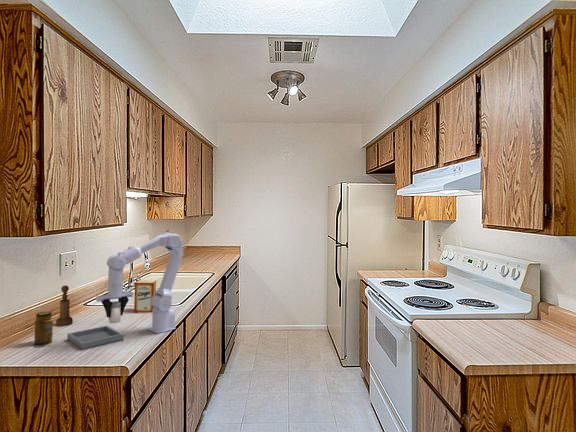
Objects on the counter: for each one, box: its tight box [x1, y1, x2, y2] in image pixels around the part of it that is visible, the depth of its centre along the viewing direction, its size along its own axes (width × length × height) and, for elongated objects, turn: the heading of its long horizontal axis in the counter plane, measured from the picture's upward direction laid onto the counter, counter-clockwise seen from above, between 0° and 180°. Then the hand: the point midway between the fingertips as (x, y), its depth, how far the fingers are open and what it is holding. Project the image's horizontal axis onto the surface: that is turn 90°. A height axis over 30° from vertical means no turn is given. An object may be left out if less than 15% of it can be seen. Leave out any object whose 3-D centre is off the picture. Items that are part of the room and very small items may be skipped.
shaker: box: [108, 300, 121, 324], centre depth 160 cm, size 5×5×8 cm
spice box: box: [133, 279, 157, 314], centre depth 203 cm, size 10×6×16 cm
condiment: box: [30, 311, 58, 348], centre depth 153 cm, size 7×8×12 cm
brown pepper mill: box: [55, 285, 74, 327], centre depth 177 cm, size 7×6×18 cm
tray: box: [67, 325, 124, 351], centre depth 158 cm, size 16×16×2 cm
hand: (114, 316), depth 160 cm, fingers closed on shaker, 4 cm apart
